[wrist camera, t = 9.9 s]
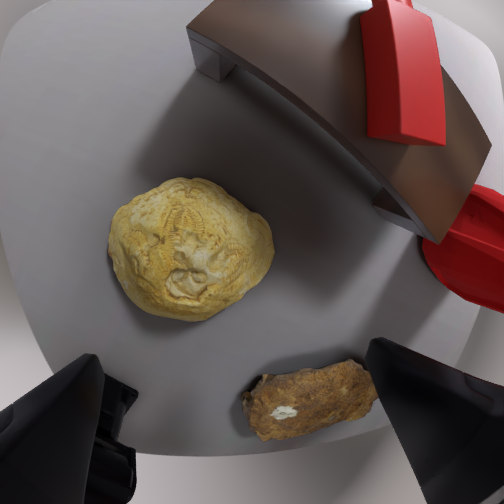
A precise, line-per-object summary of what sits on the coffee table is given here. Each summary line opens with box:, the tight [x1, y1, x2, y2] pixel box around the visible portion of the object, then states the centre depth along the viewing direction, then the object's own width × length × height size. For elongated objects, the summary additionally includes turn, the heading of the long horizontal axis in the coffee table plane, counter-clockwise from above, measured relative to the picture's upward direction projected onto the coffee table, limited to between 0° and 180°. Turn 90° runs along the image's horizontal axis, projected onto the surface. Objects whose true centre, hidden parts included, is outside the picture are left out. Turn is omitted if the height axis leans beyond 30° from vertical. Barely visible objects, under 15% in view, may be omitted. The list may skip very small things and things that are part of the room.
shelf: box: [186, 0, 492, 244], centre depth 13 cm, size 9×18×7 cm, turn 53°
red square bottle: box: [360, 0, 446, 146], centre depth 9 cm, size 8×3×3 cm, turn 0°
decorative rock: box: [241, 359, 378, 442], centre depth 23 cm, size 11×4×15 cm
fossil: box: [108, 177, 275, 322], centre depth 17 cm, size 11×6×10 cm
